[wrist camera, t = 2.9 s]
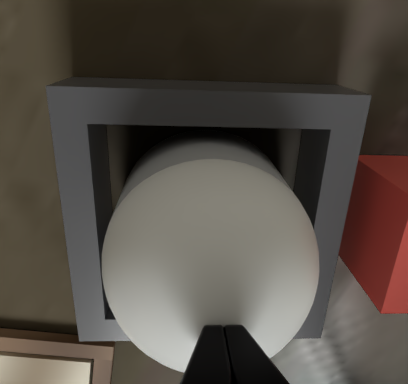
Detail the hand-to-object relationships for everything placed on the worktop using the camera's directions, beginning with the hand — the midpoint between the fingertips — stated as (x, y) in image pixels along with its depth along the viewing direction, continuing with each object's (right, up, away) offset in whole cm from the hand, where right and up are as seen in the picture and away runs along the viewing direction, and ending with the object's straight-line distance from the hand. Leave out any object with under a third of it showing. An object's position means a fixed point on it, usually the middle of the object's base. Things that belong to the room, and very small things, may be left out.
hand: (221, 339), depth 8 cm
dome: (0, +2, +6) cm, 6 cm away
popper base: (+2, +3, +7) cm, 7 cm away
